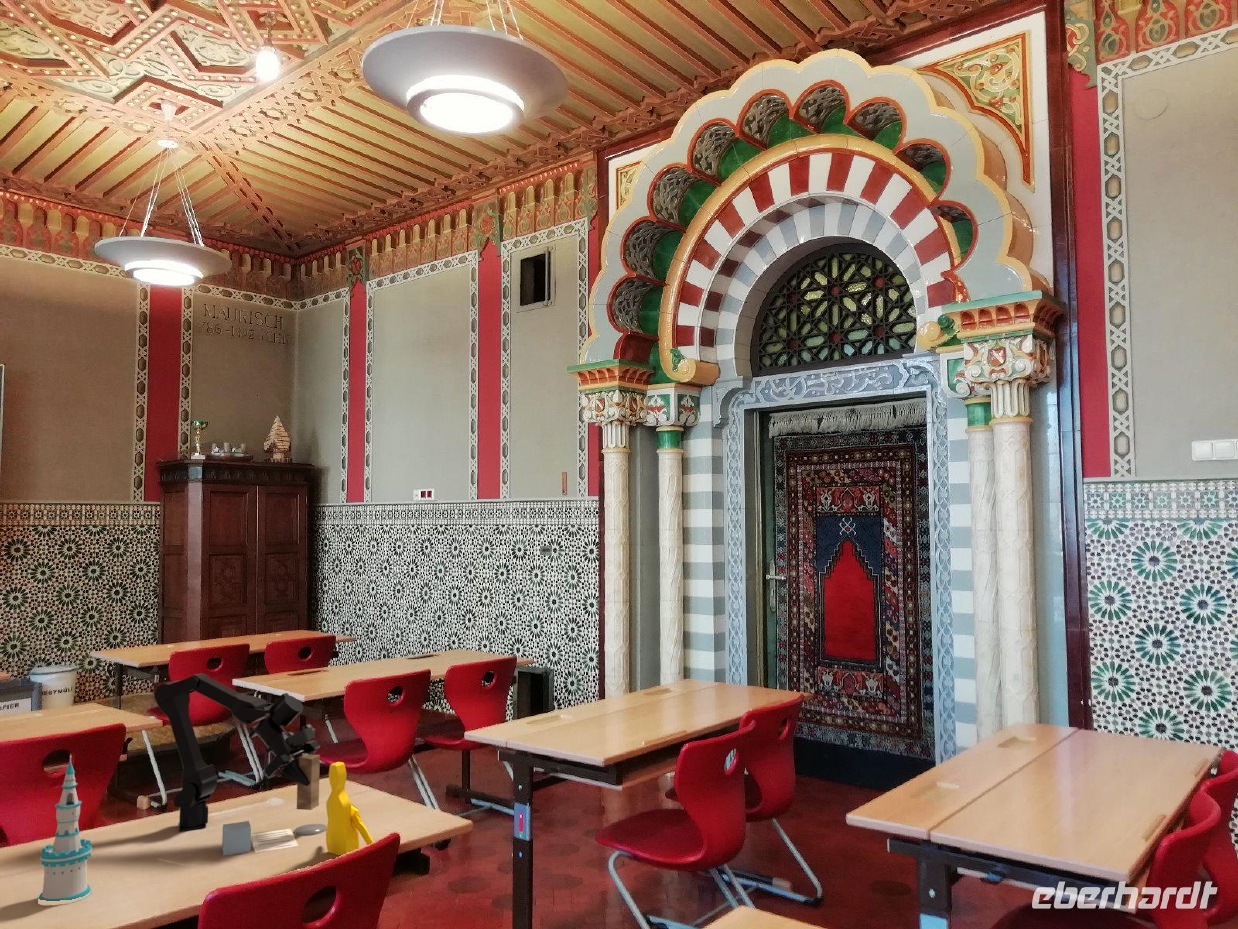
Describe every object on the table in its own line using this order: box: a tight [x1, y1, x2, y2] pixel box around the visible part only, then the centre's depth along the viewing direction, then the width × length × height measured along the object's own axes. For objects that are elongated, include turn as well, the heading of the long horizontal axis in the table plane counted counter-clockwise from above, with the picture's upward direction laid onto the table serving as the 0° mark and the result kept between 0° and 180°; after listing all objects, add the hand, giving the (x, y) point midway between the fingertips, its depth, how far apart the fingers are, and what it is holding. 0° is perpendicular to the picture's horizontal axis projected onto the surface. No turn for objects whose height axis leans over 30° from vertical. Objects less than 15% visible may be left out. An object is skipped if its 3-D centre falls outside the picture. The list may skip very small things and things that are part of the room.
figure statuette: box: [325, 761, 375, 856], centre depth 216 cm, size 18×8×22 cm, turn 56°
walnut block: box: [296, 754, 321, 811], centre depth 232 cm, size 4×4×13 cm
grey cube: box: [221, 820, 252, 856], centre depth 218 cm, size 6×6×6 cm
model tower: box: [38, 754, 93, 901], centre depth 192 cm, size 10×10×30 cm
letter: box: [251, 828, 299, 854], centre depth 225 cm, size 10×15×1 cm, turn 27°
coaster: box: [293, 823, 327, 836], centre depth 232 cm, size 8×8×1 cm
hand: (313, 782), depth 232 cm, fingers closed on walnut block, 4 cm apart
